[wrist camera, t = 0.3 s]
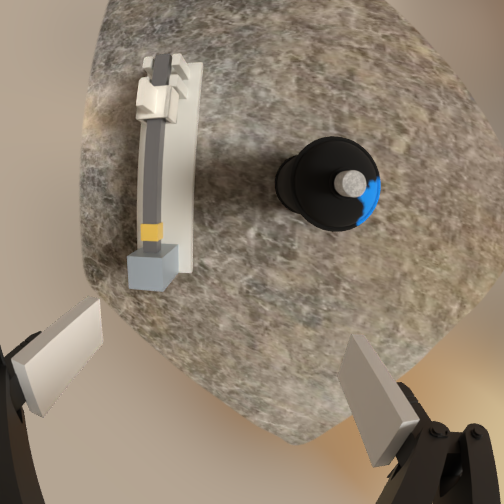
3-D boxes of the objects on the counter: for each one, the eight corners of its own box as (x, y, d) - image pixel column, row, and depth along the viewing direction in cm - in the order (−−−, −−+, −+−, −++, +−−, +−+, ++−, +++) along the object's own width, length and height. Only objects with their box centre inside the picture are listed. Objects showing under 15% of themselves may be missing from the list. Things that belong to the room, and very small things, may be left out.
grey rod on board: (150, 69, 35) (128, 45, 26) (203, 65, 35) (191, 37, 26) (141, 267, 41) (116, 287, 33) (192, 270, 41) (177, 292, 33)
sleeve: (150, 96, 32) (126, 77, 24) (179, 94, 32) (161, 73, 24) (146, 125, 33) (121, 111, 25) (176, 123, 33) (156, 108, 25)
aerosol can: (267, 204, 39) (283, 222, 20) (283, 147, 38) (314, 111, 18) (324, 221, 40) (385, 253, 20) (340, 165, 38) (413, 151, 19)
